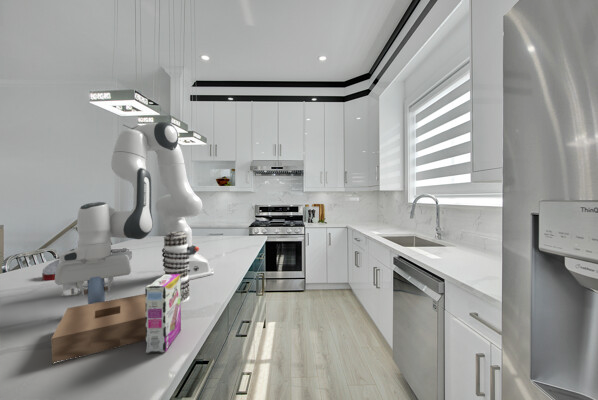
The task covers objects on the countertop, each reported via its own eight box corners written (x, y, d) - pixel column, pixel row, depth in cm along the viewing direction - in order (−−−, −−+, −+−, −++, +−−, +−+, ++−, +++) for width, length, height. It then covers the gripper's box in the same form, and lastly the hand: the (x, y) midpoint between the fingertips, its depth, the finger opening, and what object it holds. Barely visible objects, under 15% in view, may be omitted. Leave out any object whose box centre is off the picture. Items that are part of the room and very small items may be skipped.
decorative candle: (170, 295, 104) (169, 230, 103) (194, 295, 104) (193, 230, 103) (157, 305, 95) (156, 234, 94) (183, 305, 94) (182, 233, 94)
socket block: (146, 311, 90) (146, 293, 89) (151, 338, 73) (150, 316, 73) (68, 328, 79) (67, 308, 79) (52, 364, 62) (51, 338, 62)
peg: (105, 307, 94) (104, 272, 93) (104, 311, 90) (103, 276, 89) (89, 310, 91) (88, 275, 91) (87, 315, 87) (86, 278, 87)
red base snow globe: (70, 285, 132) (76, 268, 130) (42, 289, 123) (48, 271, 121) (64, 271, 138) (69, 255, 136) (37, 274, 129) (42, 256, 127)
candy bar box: (166, 353, 66) (165, 286, 65) (145, 354, 65) (143, 287, 65) (182, 330, 77) (181, 273, 77) (164, 331, 76) (162, 273, 76)
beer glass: (69, 297, 103) (68, 258, 103) (55, 296, 104) (53, 258, 104) (87, 291, 110) (86, 254, 109) (73, 290, 111) (72, 254, 111)
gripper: (131, 246, 98) (132, 283, 99) (57, 253, 87) (58, 295, 88) (131, 249, 93) (133, 288, 93) (52, 257, 82) (54, 302, 82)
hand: (96, 292), depth 90 cm, fingers closed on peg, 4 cm apart
